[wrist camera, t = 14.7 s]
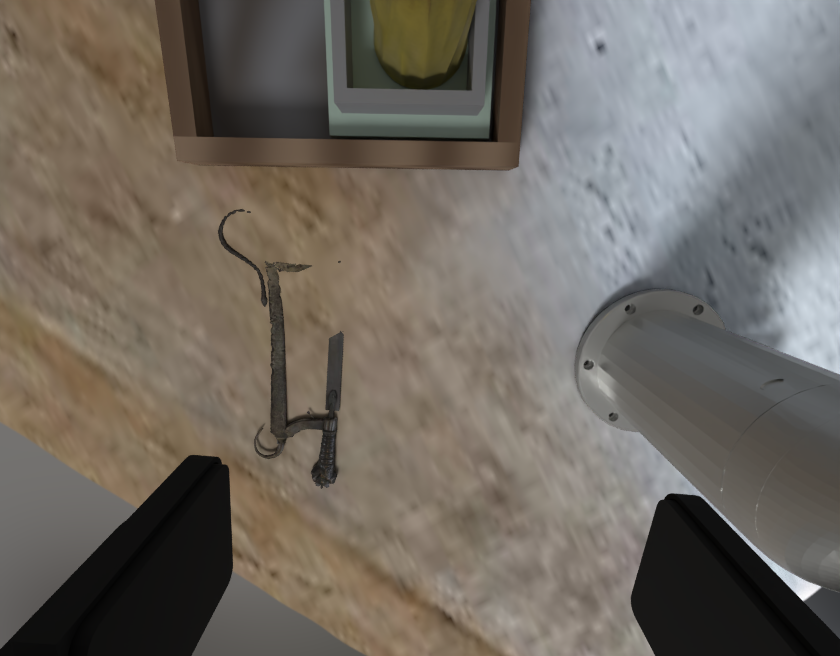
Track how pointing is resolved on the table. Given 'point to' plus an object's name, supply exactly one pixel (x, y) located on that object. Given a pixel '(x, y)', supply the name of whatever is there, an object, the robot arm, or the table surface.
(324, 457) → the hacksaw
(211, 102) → the open wooden box
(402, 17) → the vase
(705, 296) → the table surface
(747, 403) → the robot arm
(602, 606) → the table surface
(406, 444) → the table surface
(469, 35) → the square serving tray
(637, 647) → the table surface
